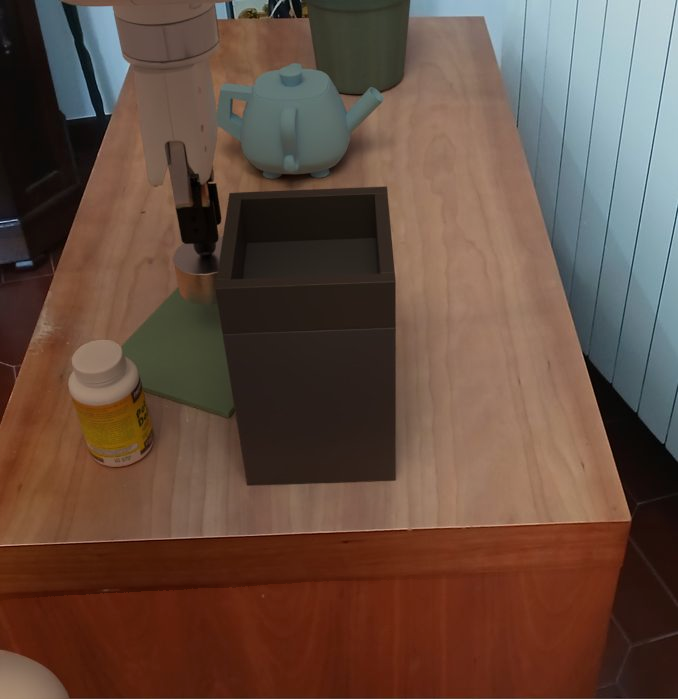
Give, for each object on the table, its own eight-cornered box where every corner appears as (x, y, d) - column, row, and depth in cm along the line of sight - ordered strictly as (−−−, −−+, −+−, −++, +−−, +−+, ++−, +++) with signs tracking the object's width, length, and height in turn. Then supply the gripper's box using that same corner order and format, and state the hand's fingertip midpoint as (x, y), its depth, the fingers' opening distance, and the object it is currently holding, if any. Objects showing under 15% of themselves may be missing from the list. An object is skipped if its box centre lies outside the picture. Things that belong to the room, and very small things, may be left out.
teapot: (212, 198, 107) (198, 104, 99) (229, 130, 120) (218, 41, 112) (384, 195, 106) (384, 100, 98) (383, 126, 119) (383, 37, 111)
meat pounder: (222, 311, 83) (205, 202, 75) (166, 296, 85) (144, 188, 77) (255, 274, 87) (241, 167, 79) (200, 260, 89) (182, 154, 81)
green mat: (228, 418, 80) (228, 413, 80) (97, 376, 85) (96, 371, 84) (328, 288, 93) (327, 283, 93) (209, 258, 98) (209, 254, 98)
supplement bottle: (158, 463, 76) (134, 372, 70) (90, 476, 76) (60, 385, 69) (153, 416, 81) (131, 327, 74) (89, 428, 80) (60, 339, 73)
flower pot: (284, 67, 133) (274, -48, 123) (385, 43, 138) (384, -69, 128) (331, 113, 122) (325, -9, 111) (439, 86, 127) (443, -34, 116)
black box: (395, 480, 74) (395, 281, 61) (247, 485, 74) (214, 288, 61) (388, 378, 83) (387, 186, 70) (255, 383, 83) (229, 192, 70)
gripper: (135, -7, 76) (171, 187, 88) (99, 78, 64) (147, 289, 76) (226, -12, 76) (250, 183, 88) (207, 73, 64) (238, 285, 76)
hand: (202, 231), depth 82 cm, fingers closed on meat pounder
